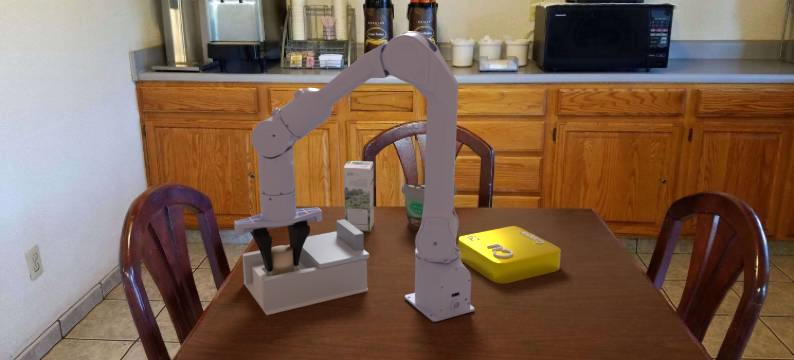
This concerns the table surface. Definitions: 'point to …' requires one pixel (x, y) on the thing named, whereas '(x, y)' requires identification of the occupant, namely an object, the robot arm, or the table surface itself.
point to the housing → (301, 282)
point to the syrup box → (359, 194)
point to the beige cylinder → (282, 260)
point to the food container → (415, 204)
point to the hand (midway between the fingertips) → (281, 266)
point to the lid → (336, 246)
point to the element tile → (509, 254)
